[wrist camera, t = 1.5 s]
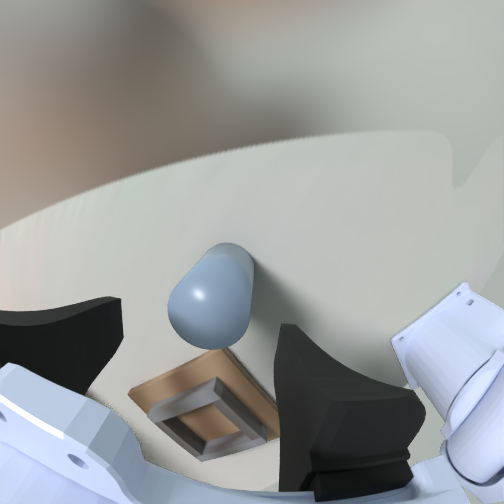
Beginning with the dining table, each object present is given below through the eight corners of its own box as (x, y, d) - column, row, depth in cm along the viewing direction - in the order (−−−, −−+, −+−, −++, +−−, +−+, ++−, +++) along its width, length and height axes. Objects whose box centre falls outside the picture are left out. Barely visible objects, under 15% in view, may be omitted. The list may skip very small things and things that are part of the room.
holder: (223, 343, 22) (218, 363, 19) (294, 423, 24) (296, 444, 21) (130, 389, 24) (119, 406, 21) (203, 454, 26) (199, 473, 23)
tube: (234, 232, 20) (216, 257, 12) (264, 277, 21) (266, 326, 13) (191, 261, 21) (152, 300, 13) (221, 303, 21) (200, 361, 13)
